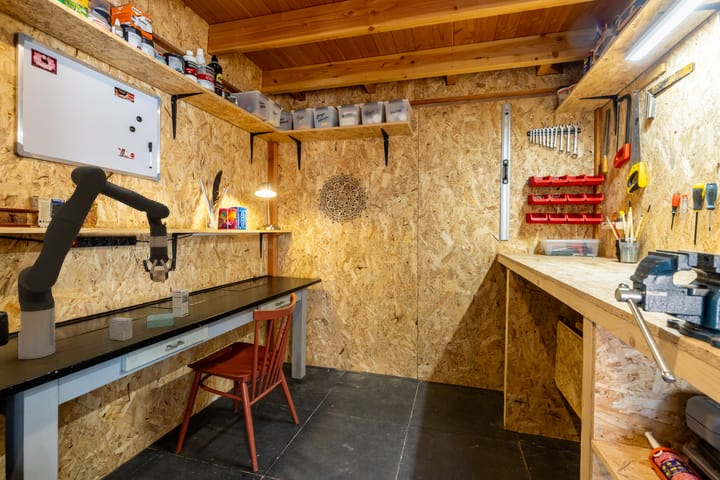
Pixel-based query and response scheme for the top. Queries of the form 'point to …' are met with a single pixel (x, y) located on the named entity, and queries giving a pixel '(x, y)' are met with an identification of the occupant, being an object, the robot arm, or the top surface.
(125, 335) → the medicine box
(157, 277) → the birch cube
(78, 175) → the robot arm
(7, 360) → the top surface
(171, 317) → the teal block
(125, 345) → the top surface
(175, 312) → the syrup box
